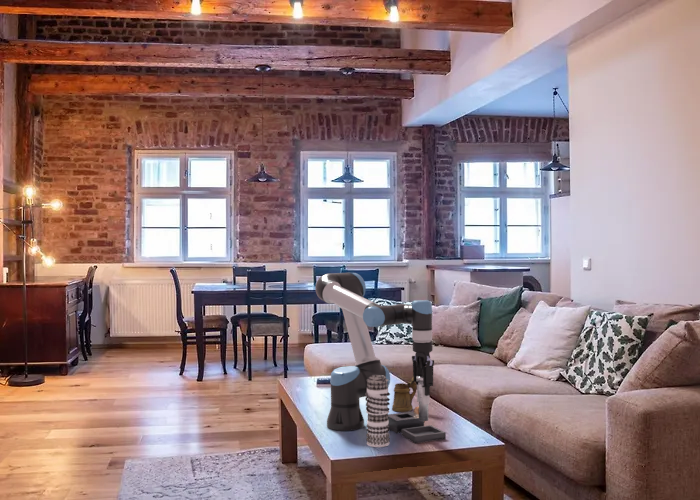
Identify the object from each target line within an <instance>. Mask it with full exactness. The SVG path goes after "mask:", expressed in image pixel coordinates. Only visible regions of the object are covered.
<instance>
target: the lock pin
mask: <svg viewBox="0 0 700 500" xmlns="http://www.w3.org/2000/svg"><path fill="white" fill-rule="evenodd" d="M416 381H418V388H419V402H418V407H419V420H420V421H425V422H427V421H429V404H423V403H422V386H424V385H423V376H416Z"/></svg>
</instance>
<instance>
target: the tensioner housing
mask: <svg viewBox="0 0 700 500" xmlns="http://www.w3.org/2000/svg"><path fill="white" fill-rule="evenodd" d="M388 420H389V431H391V432H393V433H395V434H402V429H406V428H413V427H421V426H425V422H426V421H420V420H419V406H415V407H414V409H413V411H408V412H396V413H388Z"/></svg>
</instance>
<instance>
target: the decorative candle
mask: <svg viewBox="0 0 700 500" xmlns="http://www.w3.org/2000/svg"><path fill="white" fill-rule="evenodd" d="M366 381H367V382H368V383H367V386H368V388H367V392H366V394H365V395H366V397H364V398H365V401H366V402H365V411H366V414H367V421H366V422H367V423H366V432H367V433H366V445H367V446H369V447H372V448H384V447H387V446H389V445H390V433H389V432H390V429H389V420H388V414H390V408H389V406H390V404H391V403H390V402H389V401H390V400H391V399H390V398H389V396H390V395H391V393H390V392H389V387H388V379H386V377H385V376H383V375H372V376H370V377H369V379H367V380H366ZM367 394H368V395H367Z"/></svg>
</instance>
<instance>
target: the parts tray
mask: <svg viewBox="0 0 700 500" xmlns="http://www.w3.org/2000/svg"><path fill="white" fill-rule="evenodd" d="M401 437H403V438H404V439H407V440H409V441H410V442H412V443H414V444H419V443H420V444H421V443H426V442H427V443H429V442H434V441H441V440H447V432H445V431H443V430H442V429H439V428H438V427H436V426H434V425H433V424H432V425H431V424H430V425H429V424H428V425H424V426H421V427H413V428H406V429H402V433H401Z"/></svg>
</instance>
